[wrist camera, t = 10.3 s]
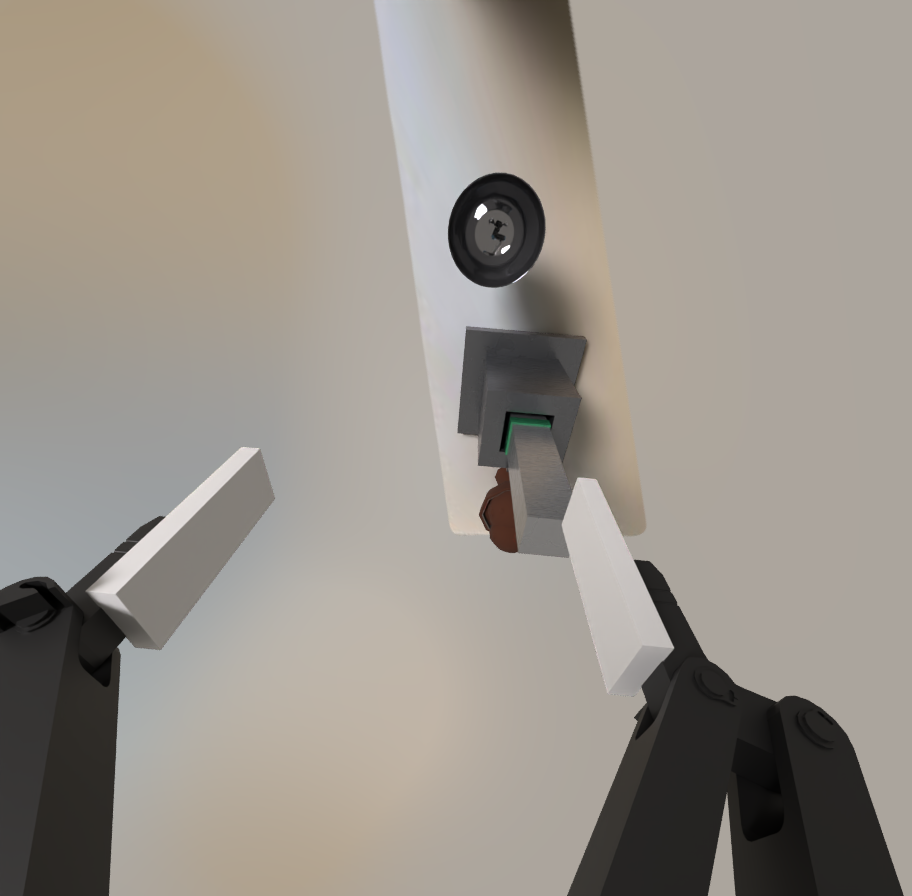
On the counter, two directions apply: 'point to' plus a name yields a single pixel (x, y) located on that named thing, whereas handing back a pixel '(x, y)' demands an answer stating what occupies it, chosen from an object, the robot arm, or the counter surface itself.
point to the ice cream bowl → (500, 514)
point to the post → (536, 484)
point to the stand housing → (517, 385)
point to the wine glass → (496, 230)
